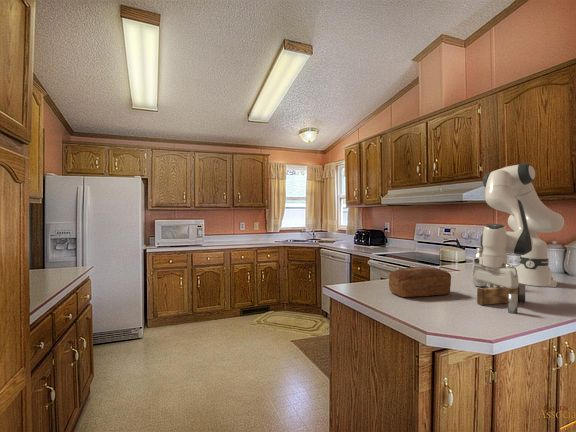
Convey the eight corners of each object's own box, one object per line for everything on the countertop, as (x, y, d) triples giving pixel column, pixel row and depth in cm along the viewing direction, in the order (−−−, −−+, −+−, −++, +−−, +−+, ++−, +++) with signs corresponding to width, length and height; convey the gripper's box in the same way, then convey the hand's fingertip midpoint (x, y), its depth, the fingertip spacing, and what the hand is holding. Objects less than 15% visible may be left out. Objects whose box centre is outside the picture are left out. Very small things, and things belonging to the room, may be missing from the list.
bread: (456, 296, 140) (456, 269, 140) (402, 300, 133) (402, 272, 133) (434, 288, 154) (435, 264, 154) (384, 292, 147) (384, 266, 147)
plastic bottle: (483, 285, 161) (483, 247, 161) (490, 288, 155) (490, 248, 154) (470, 284, 162) (470, 247, 162) (476, 288, 155) (477, 248, 155)
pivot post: (516, 300, 134) (516, 283, 133) (526, 302, 131) (526, 284, 131) (513, 301, 131) (513, 284, 131) (523, 303, 128) (523, 285, 128)
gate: (512, 300, 132) (512, 285, 132) (518, 302, 129) (518, 287, 129) (477, 303, 127) (477, 288, 127) (481, 305, 125) (482, 289, 125)
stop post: (509, 310, 119) (509, 292, 119) (518, 312, 116) (518, 294, 116) (506, 312, 117) (506, 294, 117) (515, 314, 115) (516, 295, 115)
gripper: (523, 266, 122) (522, 300, 122) (481, 258, 142) (481, 287, 142) (509, 266, 120) (509, 301, 121) (469, 258, 140) (469, 288, 141)
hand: (493, 293), depth 131 cm, fingers closed
